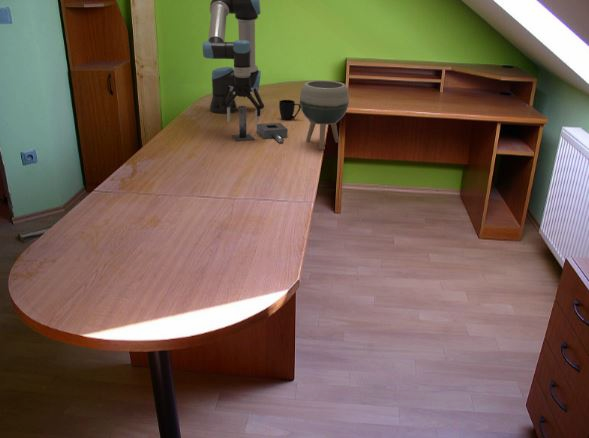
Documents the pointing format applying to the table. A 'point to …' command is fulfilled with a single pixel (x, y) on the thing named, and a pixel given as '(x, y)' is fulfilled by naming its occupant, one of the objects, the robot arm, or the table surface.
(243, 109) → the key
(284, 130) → the block
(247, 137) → the mat
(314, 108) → the planter
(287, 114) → the mug
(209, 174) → the table surface
